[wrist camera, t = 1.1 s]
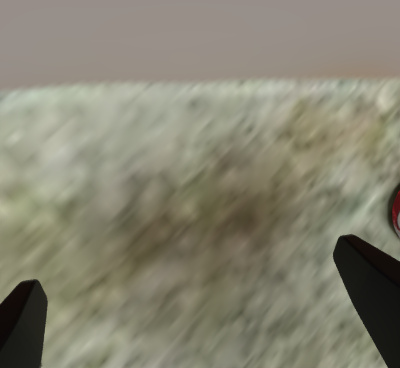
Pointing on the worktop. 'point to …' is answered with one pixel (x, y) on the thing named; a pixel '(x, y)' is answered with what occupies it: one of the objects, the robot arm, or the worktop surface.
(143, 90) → the worktop surface
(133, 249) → the worktop surface
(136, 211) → the worktop surface
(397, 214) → the soda can
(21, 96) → the worktop surface
